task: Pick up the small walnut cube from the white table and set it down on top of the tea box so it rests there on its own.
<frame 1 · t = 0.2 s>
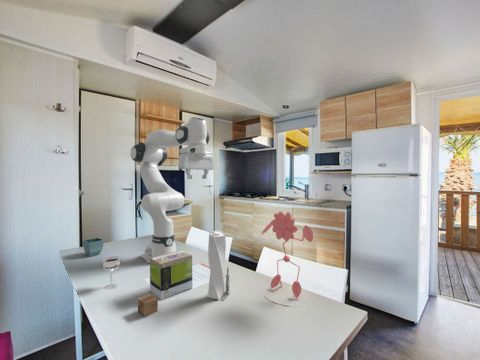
hand: (197, 178, 119), 47 cm above the table, fingers open, 8 cm apart
walnut cube: (147, 311, 87), on the table
wineglass: (111, 286, 106), on the table
skyscraper: (217, 297, 100), on the table
flower pot: (93, 255, 147), on the table
figurine: (281, 295, 101), on the table
tea box: (171, 290, 104), on the table
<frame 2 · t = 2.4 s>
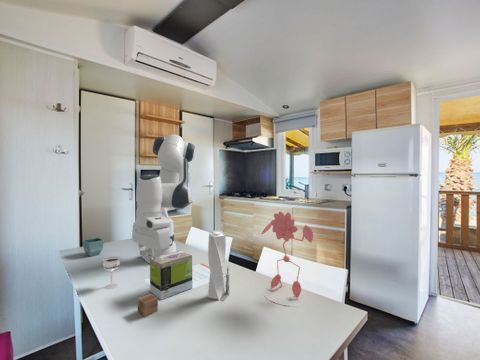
hand: (149, 258, 87), 19 cm above the table, fingers open, 8 cm apart
nothing on the table moved.
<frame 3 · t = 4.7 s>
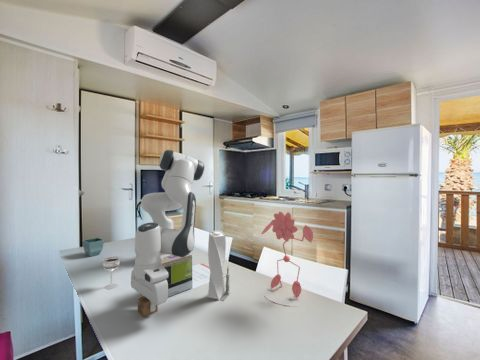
hand: (147, 307, 87), 2 cm above the table, fingers closed on walnut cube, 5 cm apart
walnut cube: (147, 311, 87), on the table, touching gripper
everything else where it was.
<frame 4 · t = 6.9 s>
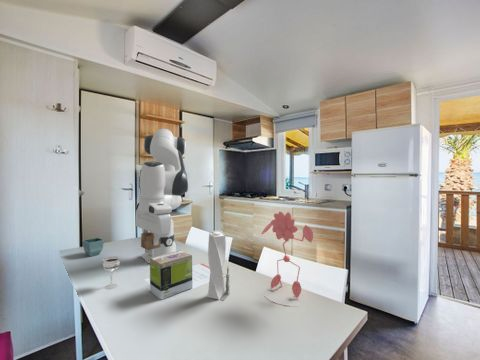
hand: (150, 242, 90), 24 cm above the table, fingers closed on walnut cube, 5 cm apart
walnut cube: (150, 247, 90), point 23 cm above the table, touching gripper
everything else where it was.
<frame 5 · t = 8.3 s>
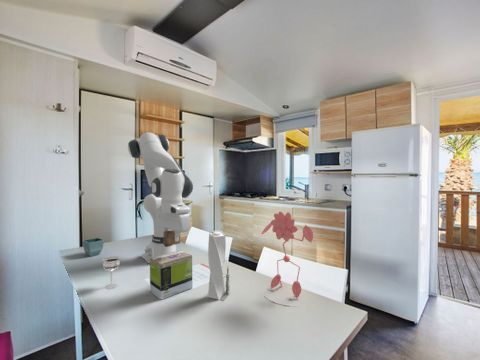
hand: (171, 239, 103), 22 cm above the table, fingers closed on walnut cube, 5 cm apart
walnut cube: (171, 243, 103), point 20 cm above the table, touching gripper
everything else where it was.
when the fingers open (18 cm above the table, at t = 9.3 s): walnut cube drops 2 cm, resting on tea box.
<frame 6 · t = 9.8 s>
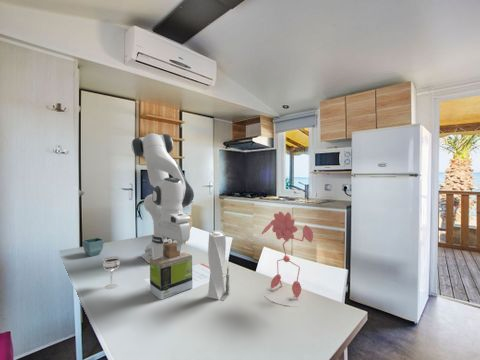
hand: (171, 248, 104), 18 cm above the table, fingers open, 8 cm apart
walnut cube: (171, 256, 104), point 15 cm above the table, touching tea box
tea box: (171, 290, 104), on the table, touching walnut cube
everything else where it was.
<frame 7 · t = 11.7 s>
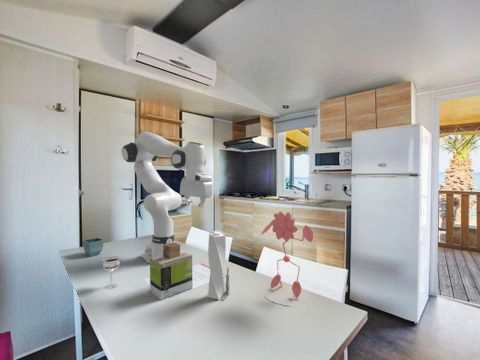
hand: (194, 206, 114), 35 cm above the table, fingers open, 8 cm apart
nothing on the table moved.
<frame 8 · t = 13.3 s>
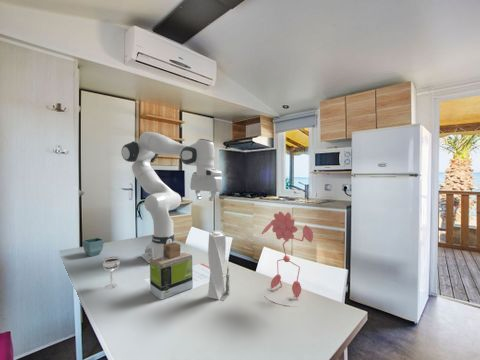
hand: (205, 200, 119), 37 cm above the table, fingers open, 8 cm apart
nothing on the table moved.
at the end: walnut cube inside the target area on the tea box (0.1 cm from its centre), point 15.0 cm above the tea box's base; walnut cube touching tea box; the gripper is holding nothing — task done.
